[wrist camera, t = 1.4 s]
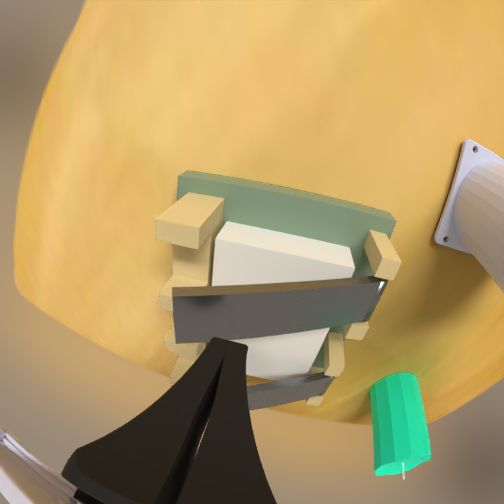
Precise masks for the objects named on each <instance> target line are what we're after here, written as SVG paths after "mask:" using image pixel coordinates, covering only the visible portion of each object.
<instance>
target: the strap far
mask: <svg viewBox="0 0 504 504" xmlns="http://www.w3.org/2000/svg"><path fill="white" fill-rule="evenodd" d="M334 378H335V376H327V375H324V372H320V373H316V374H311V375H307V376H302V377H297V378H292V379H287V380H282V381H277V382H271V383H265V384H259V385H252V386H247V398H248V406H249V410H255V409H261V408H266V407H272V406H277V405H282V404H286V403H291V402H295V401H299V400H304V399H308V398H312V397H315V396H322V395H323V394H324V393H325V391H326V390H327V388H328V387H329V385H330V384H331V382H332V381H333V379H334Z"/></svg>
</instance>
